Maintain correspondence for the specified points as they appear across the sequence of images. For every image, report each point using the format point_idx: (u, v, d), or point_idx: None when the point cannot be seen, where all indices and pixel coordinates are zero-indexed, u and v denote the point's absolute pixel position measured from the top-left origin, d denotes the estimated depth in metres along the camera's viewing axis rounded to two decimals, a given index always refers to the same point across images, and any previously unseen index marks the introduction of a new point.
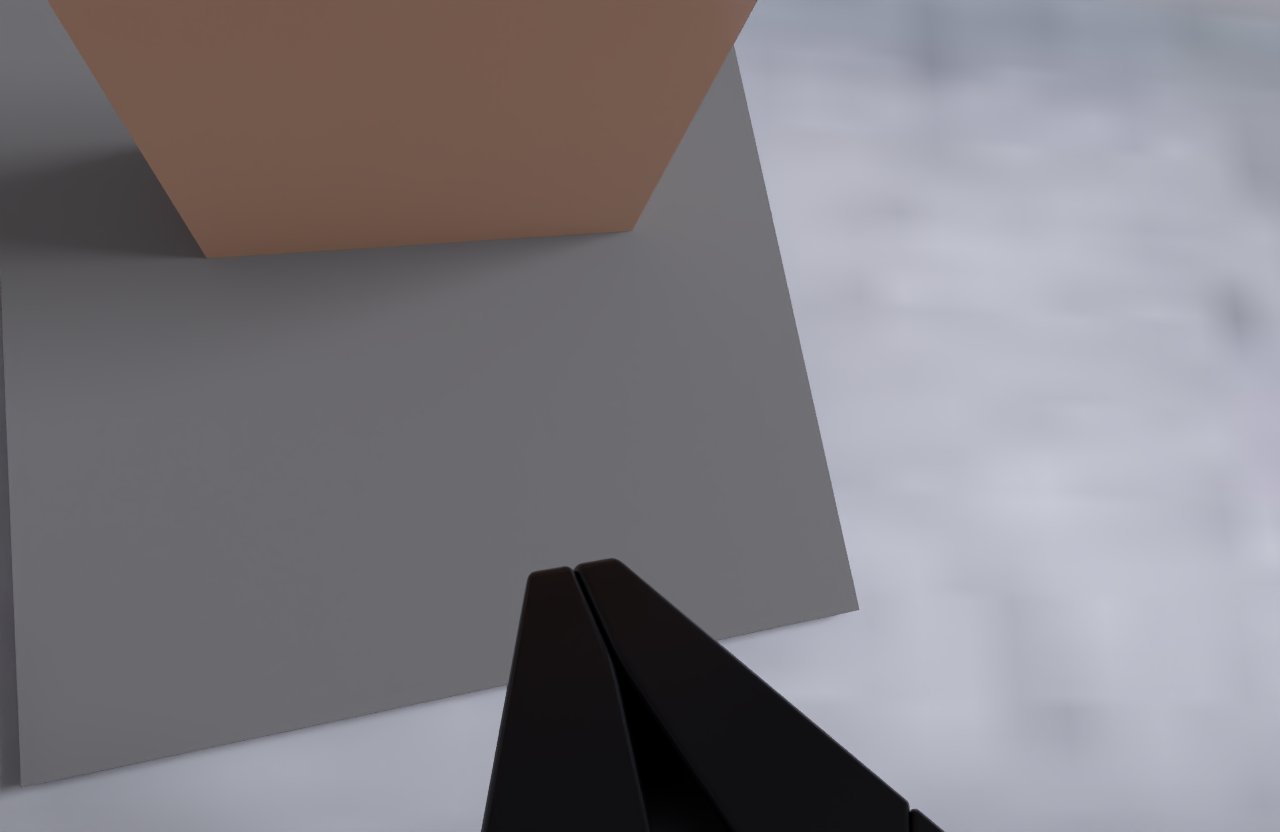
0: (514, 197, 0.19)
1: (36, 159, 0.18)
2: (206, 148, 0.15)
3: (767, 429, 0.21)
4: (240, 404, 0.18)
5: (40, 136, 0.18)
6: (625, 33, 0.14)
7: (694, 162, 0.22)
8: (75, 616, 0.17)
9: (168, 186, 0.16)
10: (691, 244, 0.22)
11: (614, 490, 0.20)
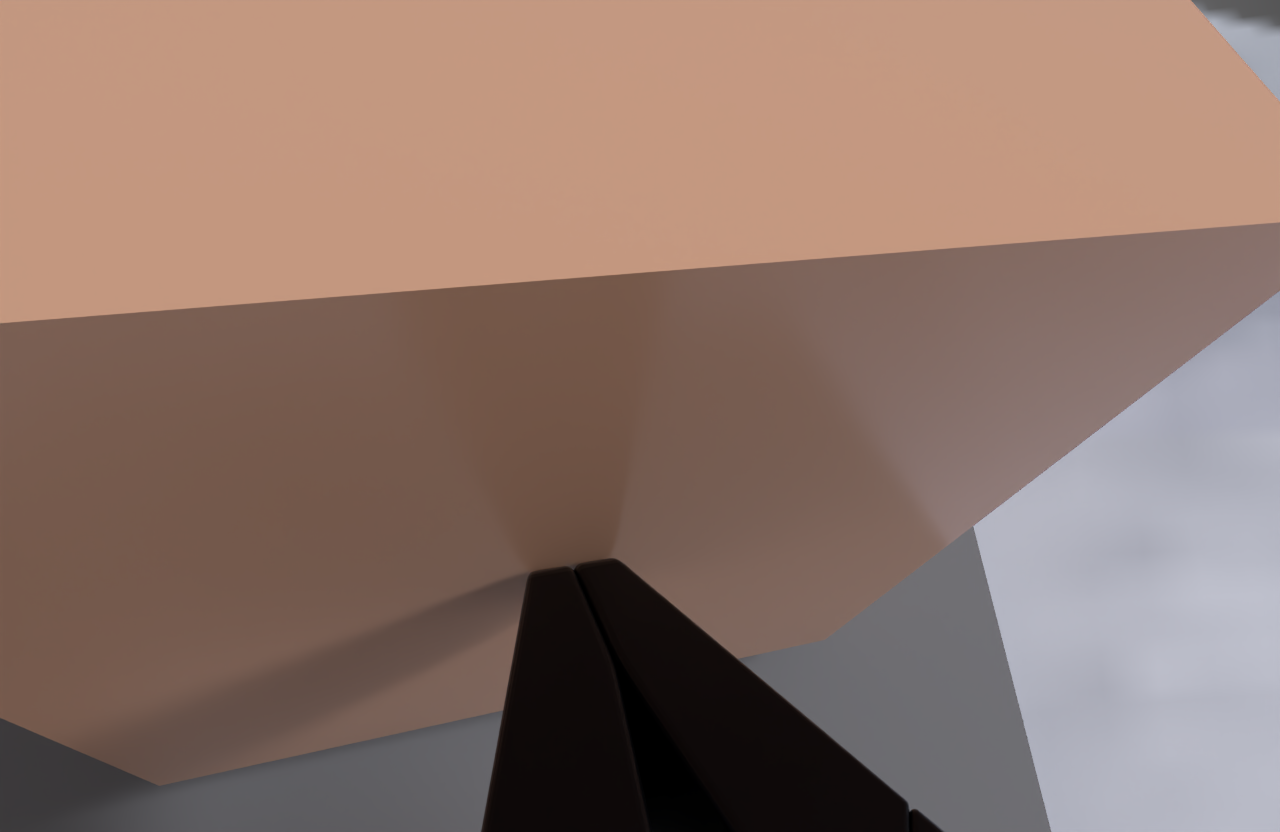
0: None
1: None
2: (126, 689, 0.08)
3: None
4: None
5: None
6: (950, 422, 0.07)
7: None
8: None
9: (66, 739, 0.08)
10: (886, 657, 0.15)
11: None
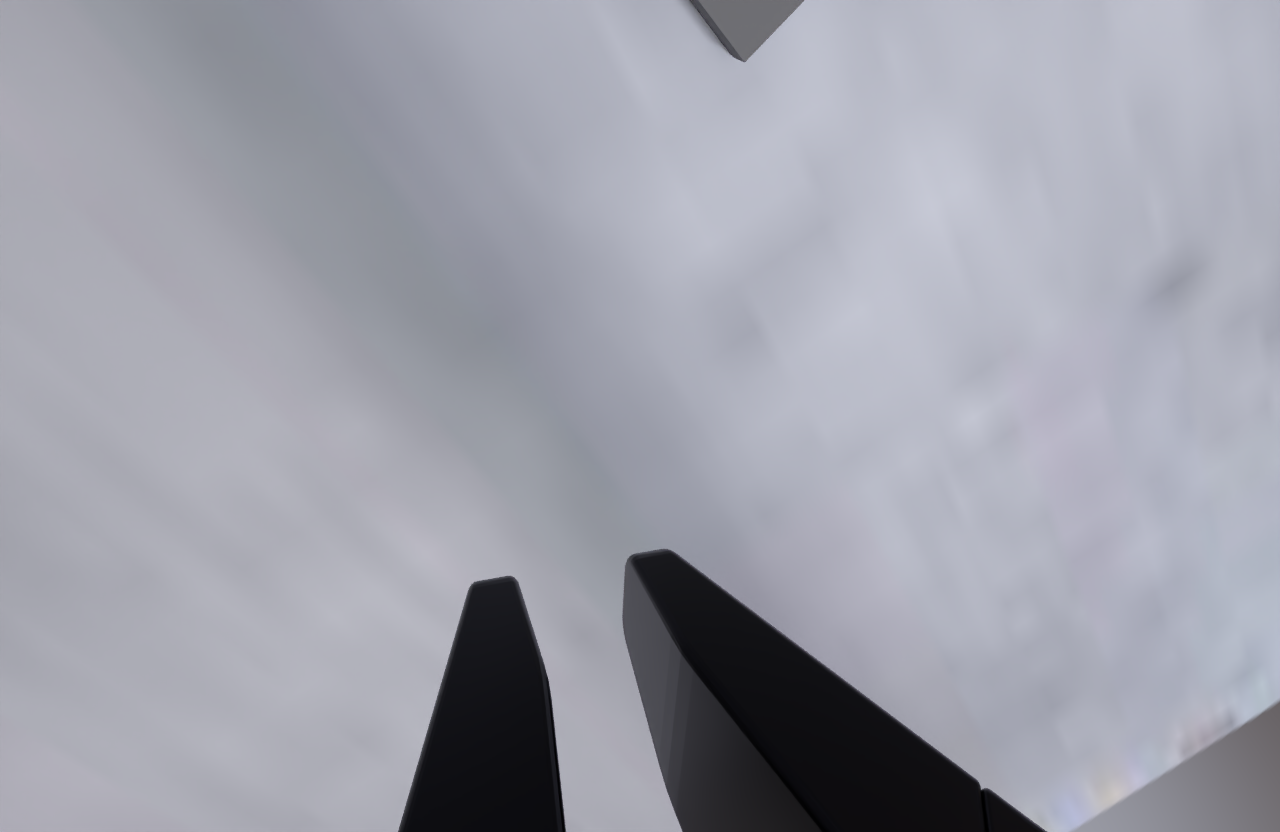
0: None
1: None
2: None
3: None
4: None
5: None
6: None
7: None
8: None
9: None
10: None
11: None
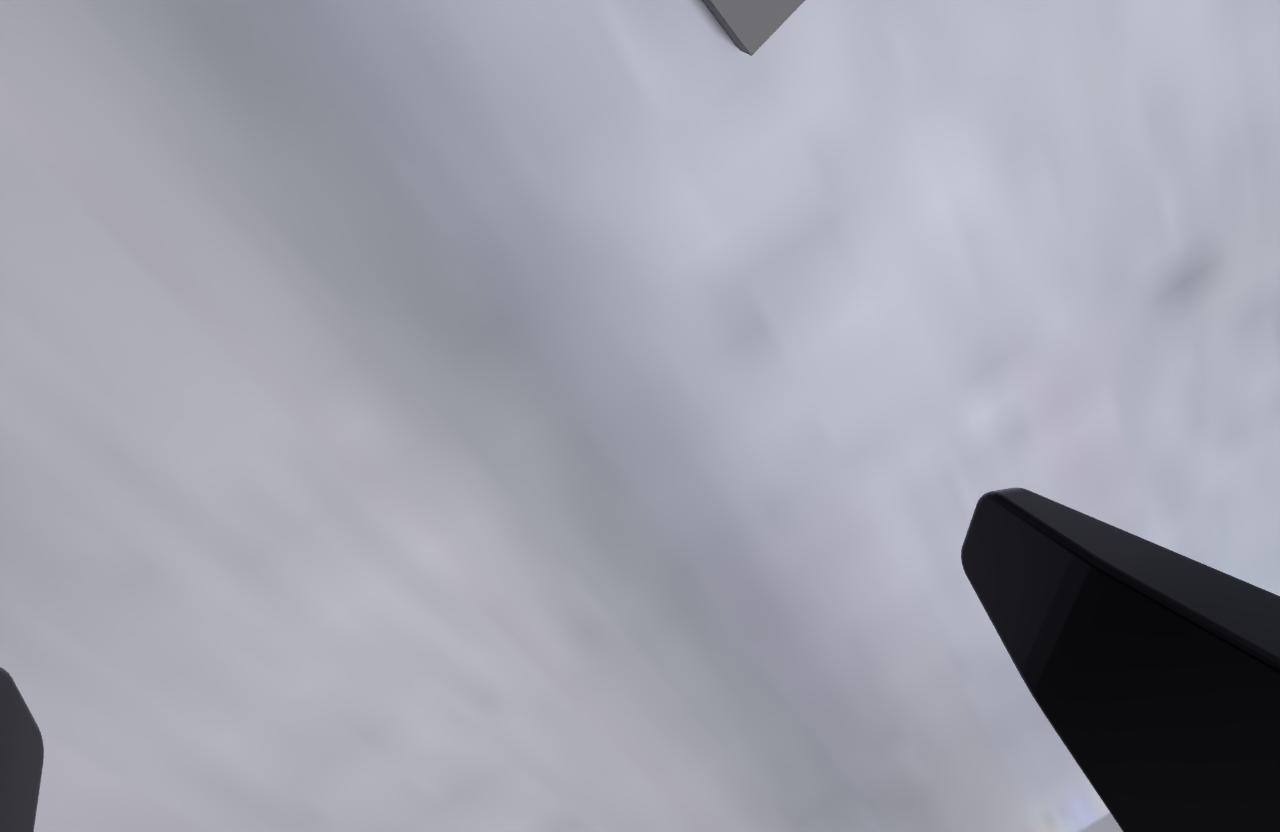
0: None
1: None
2: None
3: None
4: None
5: None
6: None
7: None
8: None
9: None
10: None
11: None
